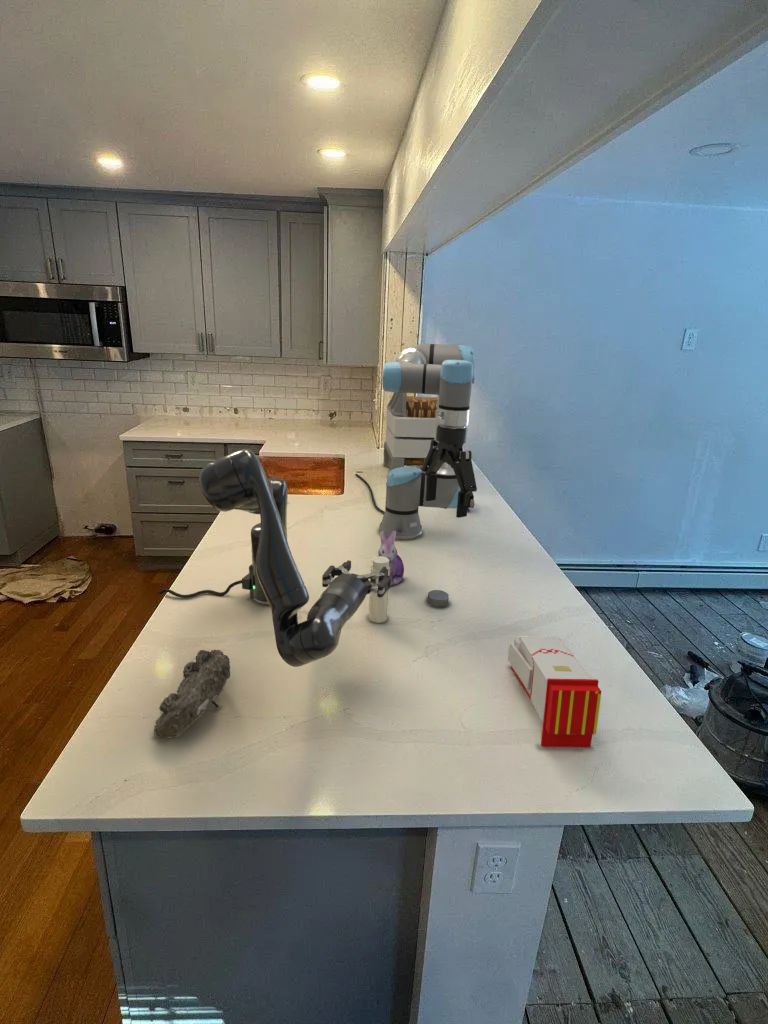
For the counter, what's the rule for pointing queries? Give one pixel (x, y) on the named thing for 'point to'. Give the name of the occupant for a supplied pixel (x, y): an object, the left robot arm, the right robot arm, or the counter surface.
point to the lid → (437, 598)
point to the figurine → (392, 557)
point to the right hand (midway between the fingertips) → (445, 508)
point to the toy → (557, 690)
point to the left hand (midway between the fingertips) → (367, 567)
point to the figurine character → (471, 501)
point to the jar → (376, 604)
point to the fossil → (193, 693)
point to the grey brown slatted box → (409, 430)
